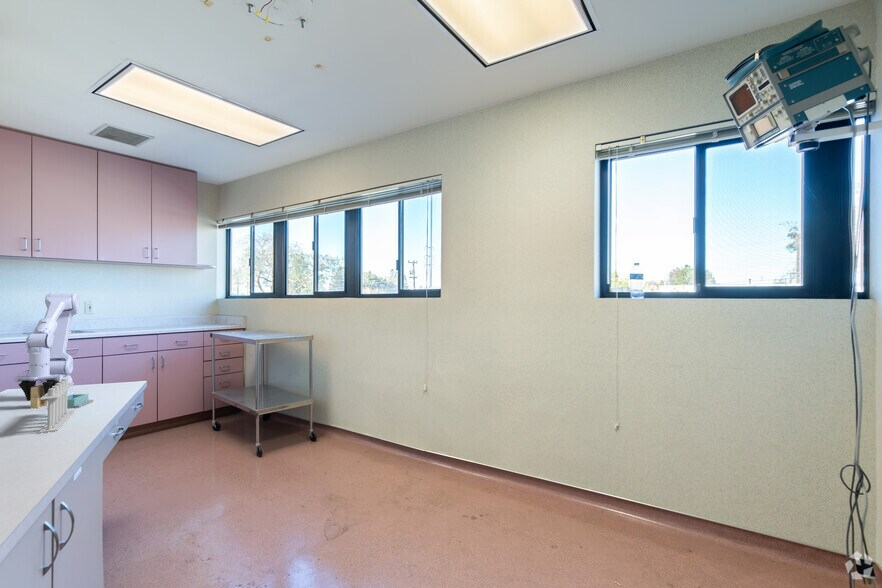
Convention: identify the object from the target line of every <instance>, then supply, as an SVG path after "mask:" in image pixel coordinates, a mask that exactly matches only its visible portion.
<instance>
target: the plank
mask: <svg viewBox="0 0 882 588" xmlns="http://www.w3.org/2000/svg"><path fill="white" fill-rule="evenodd" d="M43 396H44V387H43V384H38V385H35V386H34V387H31V400H30V408H36V409H40V408H43V407H46V406H48V400H40V398H41V397H43ZM42 406H43V407H42ZM39 407H40V408H39Z"/></svg>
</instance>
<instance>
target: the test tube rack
mask: <svg viewBox="0 0 882 588" xmlns="http://www.w3.org/2000/svg"><path fill="white" fill-rule="evenodd" d="M74 384H75V382H72V383H68V380H67V378H65V379H62V380H61V381H59V383H57V384H55V386H52V388H51V389H49V391H48V393H46V394H45V395H44V396H43V397H41V398H40V400H46V399H48V400H47V423H45V425H44V426H43V427H42V428H41V429H40V430H39V431H38V435H41V433H43V434H49V433H48V432H51V433H56V432H55V431H58V430H59V429H60V430H61V429H62V428H63V426H64V425H65V424H66V423H67V422H68V421H69V419H70V418H71V417H72V415H73V414H75V410H74V409H73V410H68V408H67V393H68V389H69V388H70V387H71V386H72V387H73V386H74ZM70 416H71V417H70ZM69 417H70V418H69ZM68 418H69V419H68ZM65 422H66V423H65ZM64 423H65V424H64ZM63 424H64V425H63ZM60 430H59V431H60ZM59 431H58V432H59Z"/></svg>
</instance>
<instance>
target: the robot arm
mask: <svg viewBox="0 0 882 588" xmlns="http://www.w3.org/2000/svg"><path fill="white" fill-rule="evenodd" d="M44 304H45V307H46V308H47V309H46V312H45V315H44V318H41V319H40V320H38V321H37V322H38V323H37V324H36V326H35V328H34V330H33V331H32V333H31V334H28V335H27V336H26V339H25V346H26V349H27V350H26V352H27V354H28V375H18V376H14V383H18V387H20V389H21V390H22V391H23V393H24V395H25V398H26V401H27V402H31V387H34V386H36V383H37V382H42V384H41V385H43V387H44V395H45V394H46V393H48V391H49V389H51V388H52V386H55V384H57V383H59V381H61V380H62V379H65V378H67V380H68V383H74V382H73V378H72V376H71V374H72V373H73V370H74V358H73V357H72V356H71V355H70V354H69V353H67V348H68V341H69V337H70V330H71V324H72V320H73V316H75V315H77V314H78V313H79V312H78V311H79V308H80V296H79V294H77V293H76V292H75V293H52V292H50V293H49V292H48V293H47V294H46V295H45V297H44ZM71 394H76V393H75V392H73V385H72V386H71V387H70V388H69V389H68V393H67V396H68V395H71ZM46 400H47V401H48V399H46Z"/></svg>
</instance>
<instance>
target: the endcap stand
mask: <svg viewBox="0 0 882 588" xmlns="http://www.w3.org/2000/svg"><path fill="white" fill-rule="evenodd" d="M93 402H94V399H89V393H75V394H71V395H68V396H67V409H79V408H82V407H84V406H86V404H87V405H89V404H92V403H93ZM81 406H82V407H81Z"/></svg>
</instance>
